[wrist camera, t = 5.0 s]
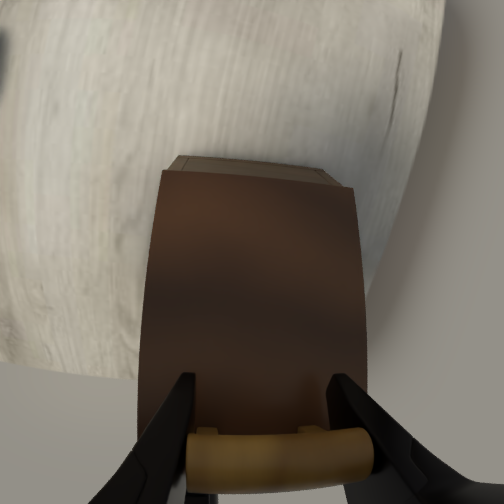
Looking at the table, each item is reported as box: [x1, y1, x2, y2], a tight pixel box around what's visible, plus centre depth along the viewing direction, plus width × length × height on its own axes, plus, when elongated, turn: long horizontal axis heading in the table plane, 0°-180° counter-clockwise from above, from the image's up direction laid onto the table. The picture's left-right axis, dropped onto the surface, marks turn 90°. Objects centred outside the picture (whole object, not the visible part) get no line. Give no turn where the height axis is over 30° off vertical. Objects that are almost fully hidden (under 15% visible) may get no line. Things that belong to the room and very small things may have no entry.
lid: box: [137, 170, 374, 494], centre depth 10 cm, size 12×8×5 cm
